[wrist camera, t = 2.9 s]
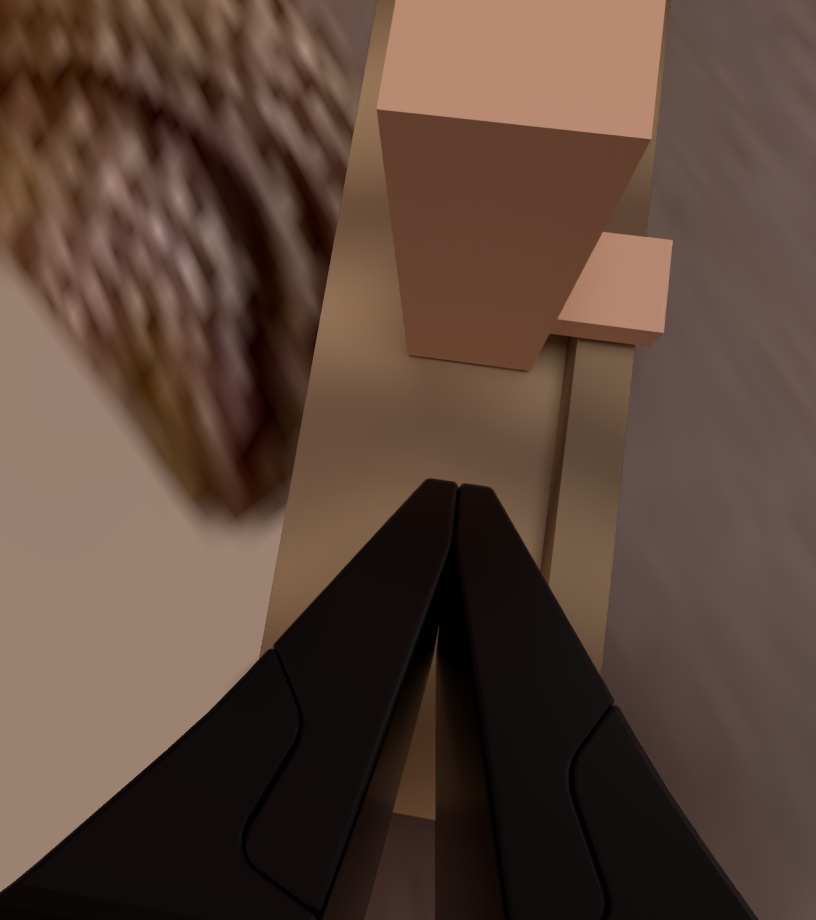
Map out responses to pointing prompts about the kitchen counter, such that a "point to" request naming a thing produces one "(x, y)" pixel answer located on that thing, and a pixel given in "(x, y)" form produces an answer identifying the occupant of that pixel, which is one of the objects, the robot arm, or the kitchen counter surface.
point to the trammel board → (449, 425)
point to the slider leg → (520, 173)
